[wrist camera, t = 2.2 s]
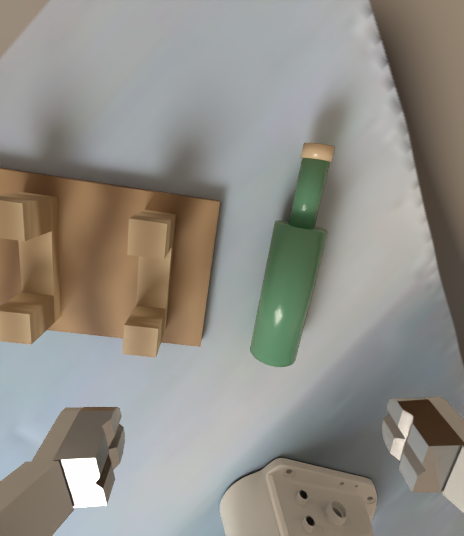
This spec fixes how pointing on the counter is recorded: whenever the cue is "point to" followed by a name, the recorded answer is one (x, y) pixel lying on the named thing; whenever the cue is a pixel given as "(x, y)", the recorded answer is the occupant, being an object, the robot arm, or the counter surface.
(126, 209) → the bottle rest
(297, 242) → the bottle
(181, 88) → the counter surface
